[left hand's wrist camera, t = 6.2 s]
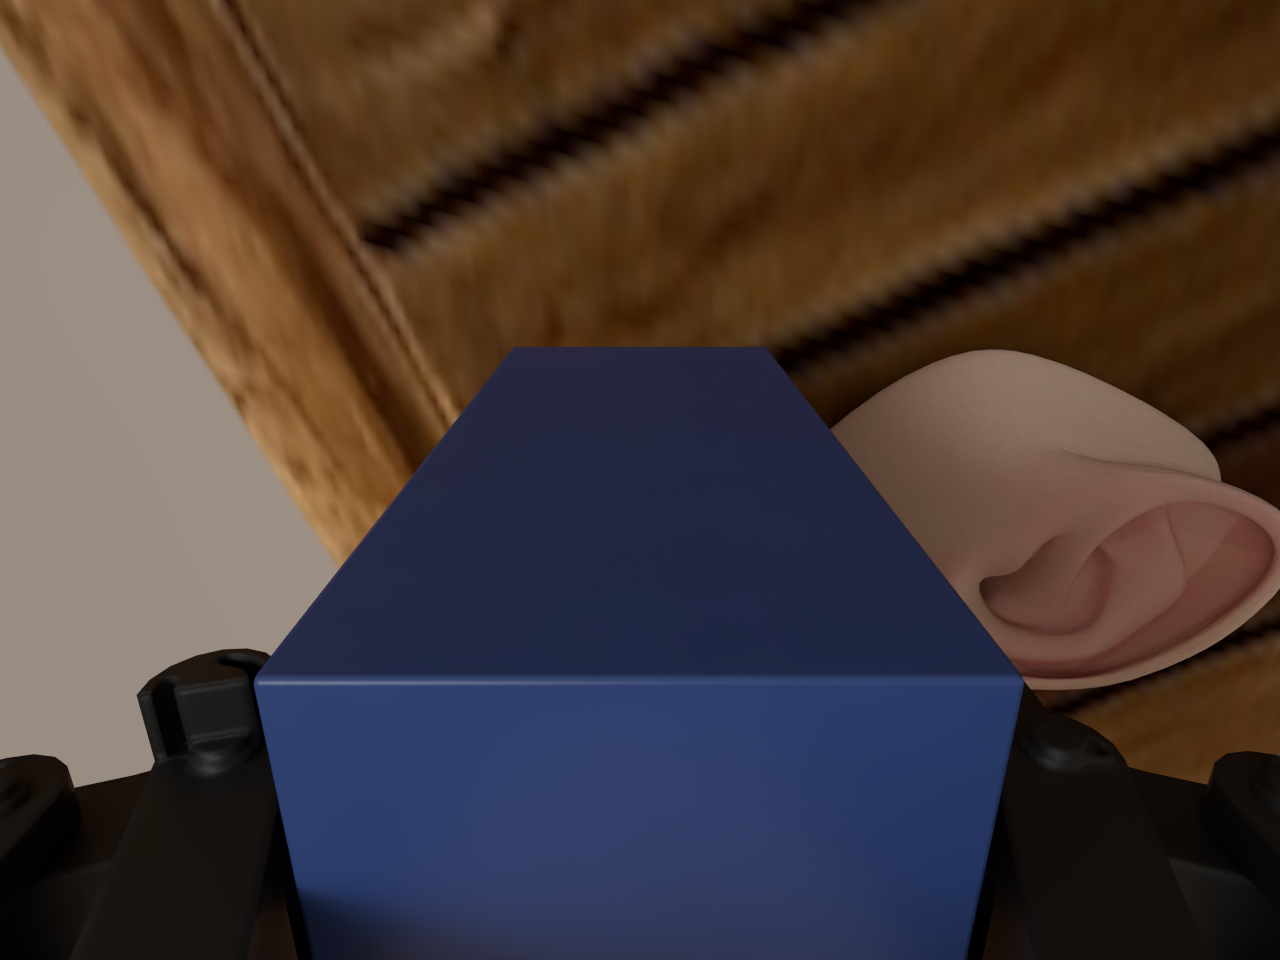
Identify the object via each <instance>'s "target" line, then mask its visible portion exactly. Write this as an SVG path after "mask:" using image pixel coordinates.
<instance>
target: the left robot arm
mask: <svg viewBox="0 0 1280 960" xmlns="http://www.w3.org/2000/svg"><path fill="white" fill-rule="evenodd" d="M270 657H271V656H270V655H268V654H267V653H265V652H261V651H256V650H252V649H225V650H219V651H214V652H210V653H206V654H202V655H197V656H194V657H192V658H189V659H187V660H184V661H182V662H180V663H177V664H175V665H172V666H170V667H169V668H167V669H166V670H164V671H163V672H161V673H160V674H158V675H156V676H155V677H153V678H152V679H150V680H149V681H148V683H147V684H146V685H145V686H144V687H143V688H142V689H141V691H140V692H139V693H138V694H137V698H138V702H139V705H140V709H141V713H142V716H143V720H144V723H145V727H146V730H147V734H148V738H149V741H150V745H151V749H152V752H153V756H154V759H155V762H154V765H153V767H152V769H151V771H148V772H144V773H140V774H137V775H133V776H128V777H123V778H119V779H114V780H109V781H104V782H100V783H95V784H90V785H86V786H81V787H76V788H74V785H73V782H72V779H71V776H70V773H69V770H68V767H67V765H65V764H64V763H63V762H61V761H60V760H59V759H57V758H56V757H52V756H44V755H35V754H32V755H25V756H18V757H11V758H5V759H1V760H0V960H312V957H311V952H310V948H309V943H308V938H307V934H306V929H305V924H304V919H303V915H302V910H301V905H300V900H299V896H298V891H297V886H296V882H295V877H294V872H293V867H292V863H291V858H290V853H289V849H288V844H287V839H286V834H285V830H284V825H283V820H282V816H281V811H280V806H279V801H278V797H277V792H276V787H275V782H274V778H273V773H272V768H271V764H270V759H269V754H268V749H267V745H266V740H265V735H264V731H263V726H262V721H261V716H260V712H259V707H258V702H257V698H256V693H255V688H254V680H255V677H256V675H257V673H258V672H259V671H260V670H261V668H262V667H263V666H264V665H265V663H266V662H267V661H268V659H269V658H270ZM1023 681H1024V680H1023ZM966 960H1280V756H1278V755H1273V754H1266V753H1259V752H1251V751H1244V752H1236V753H1228V754H1226V755H1224V756H1223V757H1222V758H1220V759H1219V760H1217V761H1216V762H1215V763H1214V766H1213V769H1212V772H1211V775H1210V778H1209V781H1208V784H1207V785H1206V784H1201V783H1197V782H1192V781H1187V780H1182V779H1178V778H1173V777H1168V776H1163V775H1159V774H1154V773H1149V772H1145V771H1141V770H1138V769H1134V768H1130V767H1128V766H1127V763H1126V761H1125V759H1124V758H1123V757H1122V755H1121V754H1120V752H1119V751H1118V750H1117V748H1116V747H1115V746H1114V744H1113V743H1112V742H1110V741H1109V740H1108V739H1106V738H1105V737H1104V736H1102V735H1101V734H1100V733H1098V732H1097V731H1096V730H1094V729H1093V728H1091V727H1089V726H1086V725H1084V724H1082V723H1080V722H1078V721H1076V720H1074V719H1072V718H1069V717H1066V716H1062V715H1058V714H1054V713H1051V712H1048V711H1047V710H1046V708H1045V707H1044V706H1043V705H1042V703H1041V702H1040V701H1039V699H1038V698H1037V697H1036V696H1035V694H1034V693H1033V692H1032V690H1031V689H1030V688H1029V686H1028V685H1027V684H1026V683H1025V681H1024V688H1023V692H1022V697H1021V702H1020V707H1019V711H1018V716H1017V721H1016V726H1015V730H1014V735H1013V740H1012V745H1011V749H1010V754H1009V759H1008V764H1007V768H1006V773H1005V778H1004V782H1003V787H1002V792H1001V797H1000V801H999V806H998V811H997V816H996V820H995V825H994V830H993V835H992V839H991V844H990V849H989V854H988V858H987V863H986V868H985V873H984V877H983V882H982V887H981V892H980V896H979V901H978V906H977V911H976V915H975V920H974V925H973V930H972V934H971V939H970V944H969V949H968V953H967V958H966Z"/></svg>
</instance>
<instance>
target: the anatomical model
mask: <svg viewBox="0 0 1280 960" xmlns="http://www.w3.org/2000/svg"><path fill="white" fill-rule="evenodd" d="M830 430H831V432H832V433H833V434H834V435H835V437H836V438H837V439H838V441H839V442H840V443H841V444H842V446H843V447H844V448H845V450H846V451H847V452H848V453H849V455H850V456H851V457H852V458H853V460H854V461H855V462H856V464H857V465H858V466H859V467H860V469H861V470H862V471H863V473H864V474H865V475H866V476H867V478H868V479H869V480H870V482H871V483H872V484H873V485H874V487H875V488H876V489H877V490H878V492H879V493H880V494H881V496H882V497H883V498H884V499H885V501H886V502H887V503H888V505H889V506H890V507H891V508H892V510H893V511H894V512H895V514H896V515H897V516H898V517H899V519H900V520H901V521H902V522H903V524H904V525H905V526H906V528H907V529H908V530H909V531H910V533H911V534H912V535H913V537H914V538H915V539H916V540H917V542H918V543H919V544H920V546H921V547H922V548H923V549H924V551H925V552H926V553H927V555H928V556H929V557H930V558H931V560H932V561H933V562H934V563H935V565H936V566H937V567H938V569H939V570H940V571H941V572H942V574H943V575H944V576H945V578H946V579H947V580H948V581H949V583H950V584H951V585H952V587H953V588H954V589H955V590H956V592H957V593H958V594H959V595H960V597H961V598H962V599H963V601H964V602H965V603H966V604H967V606H968V607H969V608H970V610H971V611H972V612H973V613H974V615H975V616H976V617H977V619H978V620H979V621H980V622H981V624H982V625H983V626H984V628H985V629H986V630H987V631H988V633H989V634H990V635H991V636H992V638H993V639H994V640H995V642H996V643H997V644H998V645H999V647H1000V648H1001V649H1002V651H1003V652H1004V653H1005V654H1006V656H1007V657H1008V658H1009V660H1010V661H1011V662H1012V663H1013V665H1014V666H1015V667H1016V668H1017V670H1018V671H1019V672H1020V674H1021V675H1022V677H1023V680H1024V681H1025V683H1026V684H1027V685H1028V686H1029V688H1030V689H1038V690H1070V689H1085V688H1094V687H1101V686H1107V685H1112V684H1116V683H1120V682H1124V681H1128V680H1133V679H1136V678H1138V677H1141V676H1144V675H1147V674H1150V673H1152V672H1155V671H1158V670H1161V669H1164V668H1166V667H1168V666H1171V665H1173V664H1175V663H1178V662H1180V661H1182V660H1184V659H1187V658H1189V657H1191V656H1193V655H1195V654H1197V653H1199V652H1201V651H1203V650H1205V649H1206V648H1208V647H1210V646H1211V645H1213V644H1215V643H1216V642H1218V641H1220V640H1221V639H1223V638H1224V637H1226V636H1227V635H1228V634H1230V633H1231V632H1233V631H1234V630H1236V629H1237V628H1238V627H1240V626H1241V625H1242V624H1243V623H1245V622H1246V621H1247V620H1248V619H1249V618H1251V617H1252V616H1253V615H1254V614H1256V613H1257V612H1258V611H1259V610H1260V609H1261V608H1262V607H1263V606H1264V605H1265V604H1266V603H1267V602H1268V601H1269V600H1270V599H1271V598H1272V597H1273V596H1274V595H1275V594H1276V592H1277V591H1278V590H1279V589H1280V511H1279V510H1278V509H1277V508H1275V507H1274V506H1272V505H1271V504H1269V503H1267V502H1266V501H1264V500H1263V499H1261V498H1259V497H1257V496H1255V495H1252V494H1250V493H1248V492H1246V491H1244V490H1242V489H1239V488H1237V487H1234V486H1231V485H1228V484H1226V483H1223V482H1221V476H1220V470H1219V467H1218V464H1217V461H1216V459H1215V458H1214V456H1213V455H1212V453H1211V452H1210V450H1209V449H1208V448H1207V447H1206V446H1205V445H1204V443H1203V442H1202V441H1201V440H1199V439H1198V438H1197V437H1196V436H1195V435H1193V434H1192V433H1191V432H1190V431H1189V430H1187V429H1186V428H1185V427H1183V426H1182V425H1180V424H1179V423H1177V422H1176V421H1174V420H1173V419H1171V418H1170V417H1168V416H1167V415H1165V414H1163V413H1162V412H1160V411H1159V410H1157V409H1155V408H1153V407H1152V406H1150V405H1148V404H1147V403H1145V402H1143V401H1141V400H1139V399H1137V398H1135V397H1133V396H1131V395H1130V394H1128V393H1126V392H1124V391H1122V390H1120V389H1118V388H1116V387H1114V386H1112V385H1110V384H1107V383H1105V382H1103V381H1101V380H1099V379H1097V378H1095V377H1092V376H1090V375H1088V374H1086V373H1083V372H1081V371H1078V370H1076V369H1073V368H1071V367H1069V366H1066V365H1064V364H1061V363H1057V362H1054V361H1051V360H1048V359H1045V358H1042V357H1039V356H1035V355H1031V354H1026V353H1022V352H1017V351H1009V350H991V349H989V350H979V351H970V352H966V353H962V354H958V355H954V356H950V357H947V358H945V359H942V360H939V361H937V362H934V363H932V364H929V365H927V366H925V367H923V368H921V369H919V370H917V371H915V372H913V373H911V374H909V375H907V376H905V377H903V378H901V379H900V380H898V381H896V382H895V383H893V384H891V385H890V386H888V387H887V388H885V389H883V390H882V391H880V392H878V393H877V394H876V395H874V396H873V397H871V398H870V399H869V400H867V401H866V402H865V403H863V404H862V405H860V406H859V407H858V408H856V409H855V410H854V411H852V412H851V413H850V414H848V415H847V416H846V417H845V418H843V419H842V420H841V421H840V422H839V423H837V424H836V425H835V426H834V427H832V428H831V429H830Z"/></svg>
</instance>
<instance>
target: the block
mask: <svg viewBox="0 0 1280 960" xmlns="http://www.w3.org/2000/svg"><path fill="white" fill-rule="evenodd" d="M254 688H255V693H256V698H257V702H258V707H259V712H260V716H261V721H262V726H263V731H264V735H265V740H266V745H267V749H268V754H269V759H270V764H271V768H272V773H273V778H274V782H275V787H276V792H277V797H278V801H279V806H280V811H281V816H282V820H283V825H284V830H285V834H286V839H287V844H288V849H289V853H290V858H291V863H292V867H293V872H294V877H295V882H296V886H297V891H298V896H299V900H300V905H301V910H302V915H303V919H304V924H305V929H306V934H307V938H308V943H309V948H310V952H311V957H312V960H966V958H967V953H968V949H969V944H970V939H971V934H972V930H973V925H974V920H975V915H976V911H977V906H978V901H979V896H980V892H981V887H982V882H983V877H984V873H985V868H986V863H987V858H988V854H989V849H990V844H991V839H992V835H993V830H994V825H995V820H996V816H997V811H998V806H999V801H1000V797H1001V792H1002V787H1003V782H1004V778H1005V773H1006V768H1007V764H1008V759H1009V754H1010V749H1011V745H1012V740H1013V735H1014V730H1015V726H1016V721H1017V716H1018V711H1019V707H1020V702H1021V697H1022V692H1023V688H1024V681H1023V677H1022V675H1021V674H1020V672H1019V671H1018V670H1017V668H1016V667H1015V666H1014V665H1013V663H1012V662H1011V661H1010V660H1009V658H1008V657H1007V656H1006V654H1005V653H1004V652H1003V651H1002V649H1001V648H1000V647H999V645H998V644H997V643H996V642H995V640H994V639H993V638H992V636H991V635H990V634H989V633H988V631H987V630H986V629H985V628H984V626H983V625H982V624H981V622H980V621H979V620H978V619H977V617H976V616H975V615H974V613H973V612H972V611H971V610H970V608H969V607H968V606H967V604H966V603H965V602H964V601H963V599H962V598H961V597H960V595H959V594H958V593H957V592H956V590H955V589H954V588H953V587H952V585H951V584H950V583H949V581H948V580H947V579H946V578H945V576H944V575H943V574H942V572H941V571H940V570H939V569H938V567H937V566H936V565H935V563H934V562H933V561H932V560H931V558H930V557H929V556H928V555H927V553H926V552H925V551H924V549H923V548H922V547H921V546H920V544H919V543H918V542H917V540H916V539H915V538H914V537H913V535H912V534H911V533H910V531H909V530H908V529H907V528H906V526H905V525H904V524H903V522H902V521H901V520H900V519H899V517H898V516H897V515H896V514H895V512H894V511H893V510H892V508H891V507H890V506H889V505H888V503H887V502H886V501H885V499H884V498H883V497H882V496H881V494H880V493H879V492H878V490H877V489H876V488H875V487H874V485H873V484H872V483H871V482H870V480H869V479H868V478H867V476H866V475H865V474H864V473H863V471H862V470H861V469H860V467H859V466H858V465H857V464H856V462H855V461H854V460H853V458H852V457H851V456H850V455H849V453H848V452H847V451H846V450H845V448H844V447H843V446H842V444H841V443H840V442H839V441H838V439H837V438H836V437H835V435H834V434H833V433H832V432H831V430H830V429H829V428H828V426H827V425H826V424H825V423H824V421H823V420H822V419H821V417H820V416H819V415H818V414H817V412H816V411H815V410H814V409H813V407H812V406H811V405H810V403H809V402H808V401H807V400H806V398H805V397H804V396H803V394H802V393H801V392H800V391H799V389H798V388H797V387H796V385H795V384H794V383H793V382H792V380H791V379H790V378H789V377H788V375H787V374H786V373H785V371H784V370H783V369H782V368H781V366H780V365H779V364H778V362H777V361H776V360H775V359H774V357H773V356H772V355H771V353H770V352H769V351H768V350H767V348H765V347H514V348H513V349H512V350H511V351H510V353H509V354H508V355H507V356H506V358H505V359H504V360H503V361H502V363H501V364H500V365H499V367H498V368H497V369H496V370H495V372H494V373H493V374H492V375H491V377H490V378H489V379H488V381H487V382H486V383H485V384H484V386H483V387H482V388H481V389H480V391H479V392H478V393H477V395H476V396H475V397H474V398H473V400H472V401H471V402H470V404H469V405H468V406H467V407H466V409H465V410H464V411H463V412H462V414H461V415H460V416H459V418H458V419H457V420H456V421H455V423H454V424H453V425H452V426H451V428H450V429H449V430H448V432H447V433H446V434H445V435H444V437H443V438H442V439H441V440H440V442H439V443H438V444H437V446H436V447H435V448H434V449H433V451H432V452H431V453H430V454H429V456H428V457H427V458H426V460H425V461H424V462H423V463H422V465H421V466H420V467H419V468H418V470H417V471H416V472H415V474H414V475H413V476H412V477H411V479H410V480H409V481H408V482H407V484H406V485H405V486H404V488H403V489H402V490H401V491H400V493H399V494H398V495H397V496H396V498H395V499H394V500H393V502H392V503H391V504H390V505H389V507H388V508H387V509H386V510H385V512H384V513H383V514H382V516H381V517H380V518H379V519H378V521H377V522H376V523H375V524H374V526H373V527H372V528H371V530H370V531H369V532H368V533H367V535H366V536H365V537H364V538H363V540H362V541H361V542H360V544H359V545H358V546H357V547H356V549H355V550H354V551H353V552H352V554H351V555H350V556H349V558H348V559H347V560H346V561H345V563H344V564H343V565H342V567H341V568H340V569H339V570H338V572H337V573H336V574H335V576H334V577H333V578H332V579H331V581H330V582H329V583H328V584H327V586H326V587H325V588H324V589H323V591H322V592H321V593H320V595H319V596H318V597H317V598H316V600H315V601H314V602H313V604H312V605H311V606H310V607H309V609H308V610H307V611H306V612H305V614H304V615H303V616H302V617H301V619H300V620H299V621H298V623H297V624H296V625H295V626H294V628H293V629H292V630H291V631H290V633H289V634H288V635H287V637H286V638H285V639H284V640H283V642H282V643H281V644H280V645H279V647H278V648H277V649H276V651H275V652H274V653H273V654H272V656H271V657H270V658H269V659H268V661H267V662H266V663H265V665H264V666H263V667H262V668H261V670H260V671H259V672H258V673H257V675H256V677H255V680H254Z"/></svg>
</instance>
